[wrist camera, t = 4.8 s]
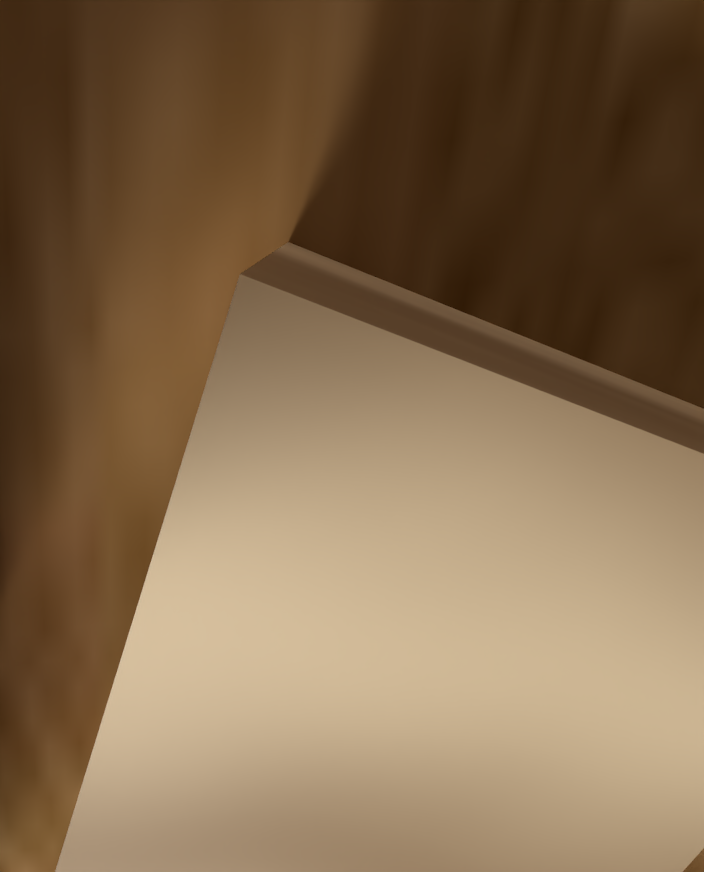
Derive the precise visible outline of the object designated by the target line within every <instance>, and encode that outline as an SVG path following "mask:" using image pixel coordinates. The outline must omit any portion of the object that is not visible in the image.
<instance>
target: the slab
mask: <svg viewBox="0 0 704 872" xmlns="http://www.w3.org/2000/svg"><path fill="white" fill-rule="evenodd" d="M703 848H704V409H703V408H701V407H698V406H696V405H693V404H691V403H688V402H686V401H683V400H681V399H678V398H676V397H673V396H671V395H668V394H666V393H663V392H661V391H659V390H656V389H654V388H651V387H649V386H646V385H644V384H641V383H639V382H636V381H634V380H631V379H629V378H626V377H624V376H621V375H619V374H616V373H614V372H611V371H609V370H606V369H604V368H601V367H599V366H596V365H594V364H591V363H589V362H586V361H584V360H581V359H579V358H576V357H574V356H571V355H569V354H566V353H564V352H561V351H559V350H556V349H554V348H551V347H549V346H546V345H544V344H541V343H539V342H536V341H534V340H531V339H529V338H526V337H524V336H521V335H519V334H516V333H514V332H511V331H509V330H506V329H504V328H501V327H499V326H496V325H494V324H491V323H489V322H487V321H484V320H482V319H479V318H477V317H474V316H472V315H469V314H467V313H464V312H462V311H459V310H457V309H454V308H452V307H449V306H447V305H444V304H442V303H439V302H437V301H434V300H432V299H429V298H427V297H424V296H422V295H419V294H417V293H414V292H412V291H409V290H407V289H404V288H402V287H399V286H397V285H394V284H392V283H389V282H387V281H384V280H382V279H379V278H377V277H374V276H372V275H369V274H367V273H364V272H362V271H359V270H357V269H354V268H352V267H349V266H347V265H344V264H342V263H339V262H337V261H334V260H332V259H329V258H327V257H324V256H322V255H319V254H317V253H315V252H312V251H310V250H307V249H305V248H302V247H300V246H297V245H295V244H292V243H290V242H287V243H286V244H284V245H283V246H281V247H280V248H278V249H277V250H275V251H274V252H272V253H271V254H269V255H268V256H266V257H265V258H263V259H262V260H260V261H259V262H257V263H256V264H254V265H253V266H251V267H250V268H248V269H247V270H245V271H244V272H242V273H241V274H240V276H239V279H238V282H237V285H236V289H235V292H234V295H233V298H232V302H231V305H230V308H229V311H228V315H227V318H226V321H225V324H224V327H223V331H222V334H221V337H220V340H219V344H218V347H217V350H216V353H215V357H214V360H213V363H212V366H211V369H210V373H209V376H208V379H207V382H206V386H205V389H204V392H203V395H202V399H201V402H200V405H199V408H198V412H197V415H196V418H195V421H194V424H193V428H192V431H191V434H190V437H189V441H188V444H187V447H186V450H185V454H184V457H183V460H182V463H181V466H180V470H179V473H178V476H177V479H176V483H175V486H174V489H173V492H172V496H171V499H170V502H169V505H168V509H167V512H166V515H165V518H164V521H163V525H162V528H161V531H160V534H159V538H158V541H157V544H156V547H155V551H154V554H153V557H152V560H151V563H150V567H149V570H148V573H147V576H146V580H145V583H144V586H143V589H142V593H141V596H140V599H139V602H138V605H137V609H136V612H135V615H134V618H133V622H132V625H131V628H130V631H129V635H128V638H127V641H126V644H125V648H124V651H123V654H122V657H121V660H120V664H119V667H118V670H117V673H116V677H115V680H114V683H113V686H112V690H111V693H110V696H109V699H108V702H107V706H106V709H105V712H104V715H103V719H102V722H101V725H100V728H99V732H98V735H97V738H96V741H95V745H94V748H93V751H92V754H91V757H90V761H89V764H88V767H87V770H86V774H85V777H84V780H83V783H82V787H81V790H80V793H79V796H78V799H77V803H76V806H75V809H74V812H73V816H72V819H71V822H70V825H69V829H68V832H67V835H66V838H65V842H64V845H63V848H62V851H61V854H60V858H59V861H58V864H57V867H56V871H55V872H683V871H684V870H685V868H686V867H687V866H688V865H689V864H690V863H691V862H692V861H693V859H694V858H695V857H696V856H697V855H698V854H699V853H700V852H701V851H702V849H703Z"/></svg>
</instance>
